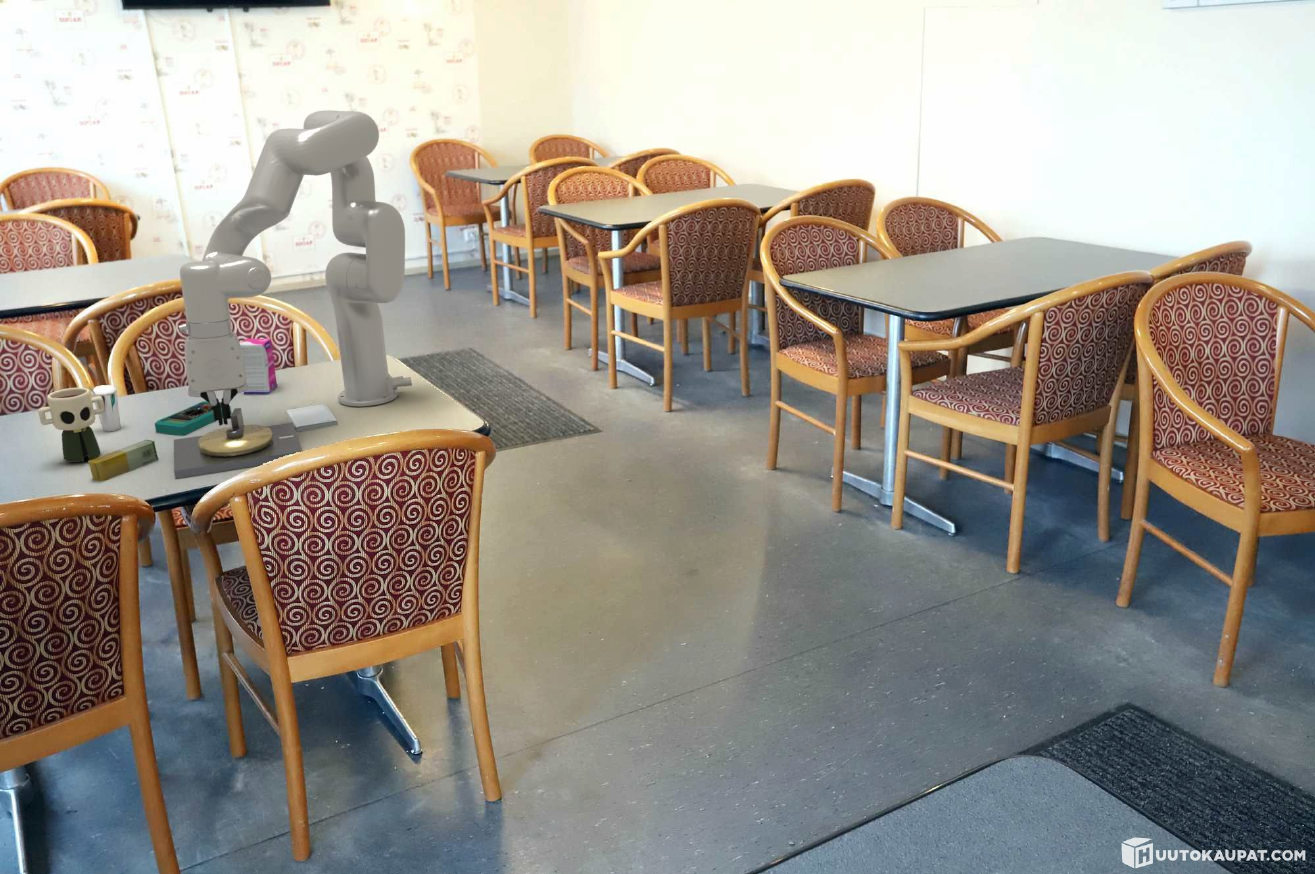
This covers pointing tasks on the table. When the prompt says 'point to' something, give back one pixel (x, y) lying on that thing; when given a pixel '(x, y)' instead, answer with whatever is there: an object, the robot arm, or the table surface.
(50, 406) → the character mug
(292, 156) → the robot arm
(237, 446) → the dial
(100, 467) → the medication box
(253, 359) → the supplement box
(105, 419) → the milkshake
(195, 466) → the base plate
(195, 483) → the table surface
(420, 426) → the table surface
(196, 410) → the digital multimeter
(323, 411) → the hard drive
